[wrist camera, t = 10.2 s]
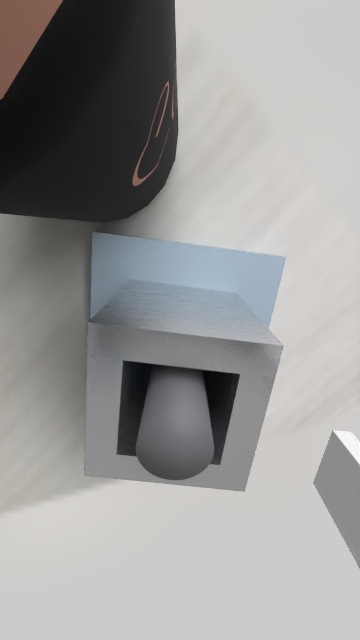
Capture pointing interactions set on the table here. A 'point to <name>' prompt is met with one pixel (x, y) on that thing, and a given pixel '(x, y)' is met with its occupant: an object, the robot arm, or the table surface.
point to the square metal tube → (181, 351)
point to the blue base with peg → (170, 381)
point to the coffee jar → (86, 106)
